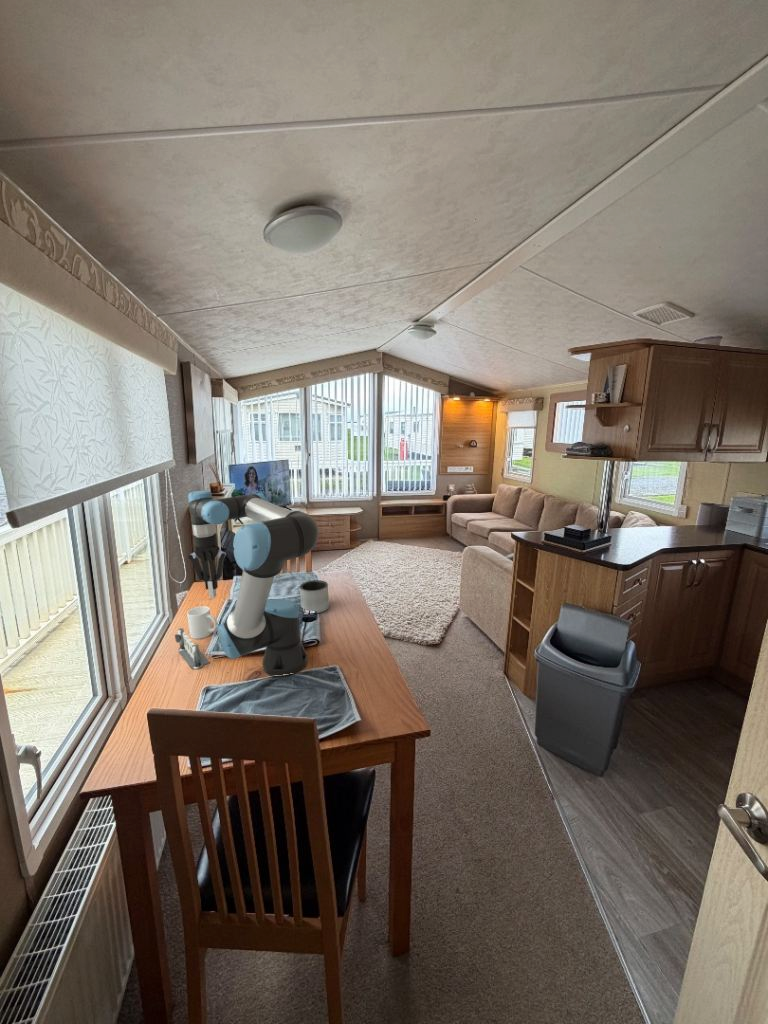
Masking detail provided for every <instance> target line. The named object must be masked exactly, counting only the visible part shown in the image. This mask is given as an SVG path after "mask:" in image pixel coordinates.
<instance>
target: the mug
mask: <svg viewBox="0 0 768 1024" xmlns="http://www.w3.org/2000/svg"><path fill="white" fill-rule="evenodd" d="M186 615H187V621H188V622H187V623H188V631H189V636H190V638H192V639H194V640H202V639H205V638H208V637H209V636H210V635H211V634H212V633H213V632H215V631H216V630H217V627H218V621H217V619H216V618H215V617H214V616H213V615H212V614H211V609H210V607H208V606H206V605H203V606H202V605H201V606H196V607H193V608H191V609H189V610H188V611H187V612H186ZM212 623H213V626H212Z"/></svg>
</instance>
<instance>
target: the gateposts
mask: <svg viewBox="0 0 768 1024" xmlns="http://www.w3.org/2000/svg"><path fill="white" fill-rule="evenodd" d="M184 632H185V629H184V628H182V627H181V628H179V629H177V634H174V638H175V642H176V643H179V648H178V652H180V651H183V650H185V647H184V638H183V633H184ZM192 649H193V656H194V663H195V665H194V666H193V668H194V669H193V670H200V669H202V668H203V667H204V665H203V664H202V663H201V660H200V653H199V650H200V647H199V644H195V645H193V646H192Z"/></svg>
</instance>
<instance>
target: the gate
mask: <svg viewBox="0 0 768 1024" xmlns="http://www.w3.org/2000/svg"><path fill="white" fill-rule="evenodd" d="M189 636H190V635H188V634H187V632H186V631H184V633H183V638H184V647H185V650H187V651H188V654H190V656H191V658H193V660H194V656H193V649H192V646H193V645H196V644H195V643H193V640H192V639H191V637H189Z"/></svg>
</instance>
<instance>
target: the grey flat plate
mask: <svg viewBox="0 0 768 1024" xmlns="http://www.w3.org/2000/svg"><path fill="white" fill-rule="evenodd" d="M178 653H179V655H180V656H181V657H182V658H183V659H184V661H185V662H186V663H187V665H188V666H189V667H190V668H191V670H195V669H194V668H193V666H194V665H195V663H194V660H193V658H191V656H190V654H188V651H187V650H183V651H178ZM199 653H200V660H201V663H202V664H203V666H205V665H208V664H210V663H211V661H210V660H209V659H208V658H207V657H206V656H205V655H204V654H203V653H202V651H201V650H200V649H199Z"/></svg>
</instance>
